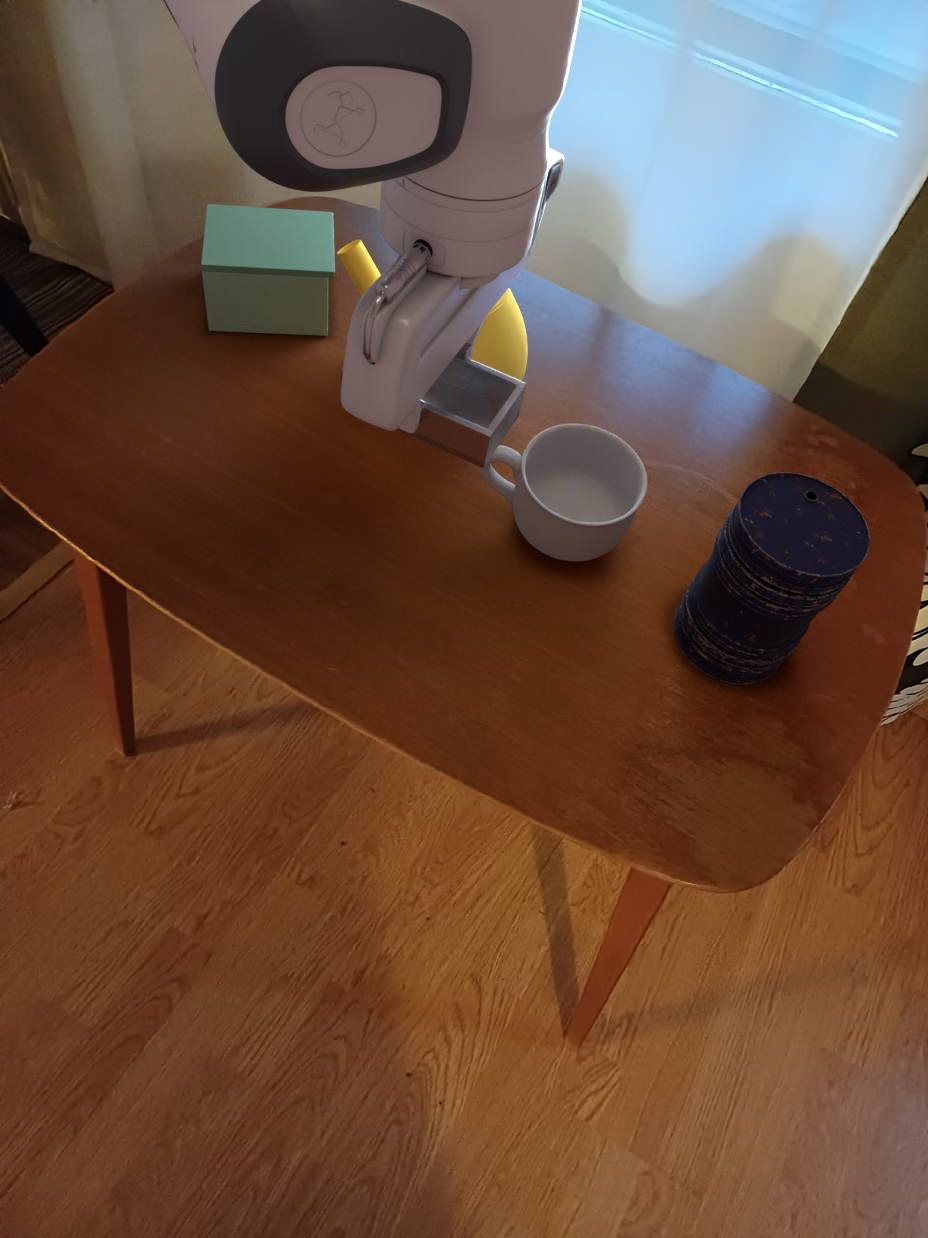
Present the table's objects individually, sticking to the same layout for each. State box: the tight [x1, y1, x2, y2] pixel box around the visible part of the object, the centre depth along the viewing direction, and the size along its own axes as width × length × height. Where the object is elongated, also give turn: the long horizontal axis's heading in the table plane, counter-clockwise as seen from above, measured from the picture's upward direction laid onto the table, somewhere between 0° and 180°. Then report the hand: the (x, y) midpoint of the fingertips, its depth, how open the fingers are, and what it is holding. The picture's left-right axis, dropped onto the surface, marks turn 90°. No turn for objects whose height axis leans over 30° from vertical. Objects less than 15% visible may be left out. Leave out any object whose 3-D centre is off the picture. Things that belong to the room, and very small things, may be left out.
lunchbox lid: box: [200, 203, 336, 279], centre depth 89 cm, size 12×10×1 cm
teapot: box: [336, 238, 529, 382], centre depth 86 cm, size 20×16×14 cm
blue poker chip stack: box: [673, 471, 871, 686], centre depth 72 cm, size 10×10×15 cm
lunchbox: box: [201, 270, 329, 337], centre depth 92 cm, size 12×10×7 cm
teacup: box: [478, 423, 649, 562], centre depth 80 cm, size 14×11×8 cm
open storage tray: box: [339, 354, 528, 468], centre depth 63 cm, size 11×6×3 cm, turn 64°
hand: (432, 391), depth 63 cm, fingers closed on open storage tray, 6 cm apart
